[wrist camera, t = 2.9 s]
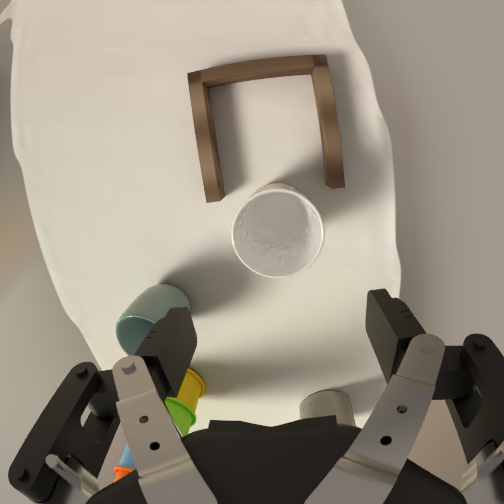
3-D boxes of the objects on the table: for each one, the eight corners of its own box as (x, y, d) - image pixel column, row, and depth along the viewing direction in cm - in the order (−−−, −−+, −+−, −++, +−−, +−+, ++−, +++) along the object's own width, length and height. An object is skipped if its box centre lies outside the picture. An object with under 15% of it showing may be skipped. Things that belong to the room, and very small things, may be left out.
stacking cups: (214, 377, 43) (162, 571, 11) (194, 405, 46) (147, 564, 14) (158, 351, 42) (69, 534, 10) (146, 382, 46) (75, 534, 13)
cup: (143, 273, 37) (108, 310, 28) (194, 278, 37) (169, 319, 27) (150, 319, 40) (123, 361, 30) (198, 325, 39) (179, 372, 30)
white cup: (318, 231, 33) (334, 263, 24) (257, 250, 34) (250, 288, 25) (298, 168, 31) (308, 176, 21) (234, 190, 32) (217, 207, 23)
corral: (338, 184, 31) (344, 187, 28) (212, 198, 33) (206, 203, 30) (321, 62, 26) (325, 54, 23) (194, 79, 28) (187, 73, 25)
